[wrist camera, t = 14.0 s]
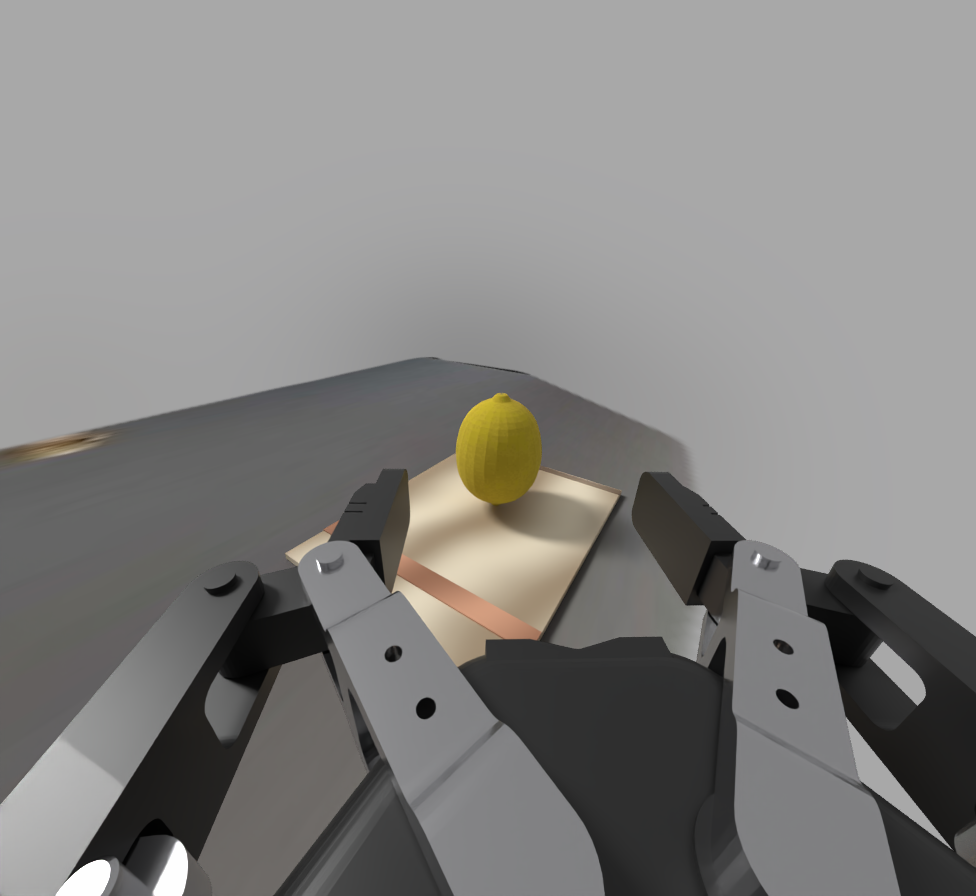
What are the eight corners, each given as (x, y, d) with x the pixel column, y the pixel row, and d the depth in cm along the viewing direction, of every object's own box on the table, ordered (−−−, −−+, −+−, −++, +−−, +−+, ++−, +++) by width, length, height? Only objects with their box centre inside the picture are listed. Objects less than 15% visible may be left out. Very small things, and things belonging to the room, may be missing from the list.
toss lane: (286, 559, 20) (284, 551, 19) (471, 447, 33) (471, 443, 33) (499, 713, 13) (500, 705, 13) (620, 495, 27) (621, 489, 27)
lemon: (521, 480, 27) (530, 380, 24) (547, 524, 23) (563, 406, 19) (451, 487, 26) (449, 382, 23) (463, 534, 21) (463, 411, 18)
